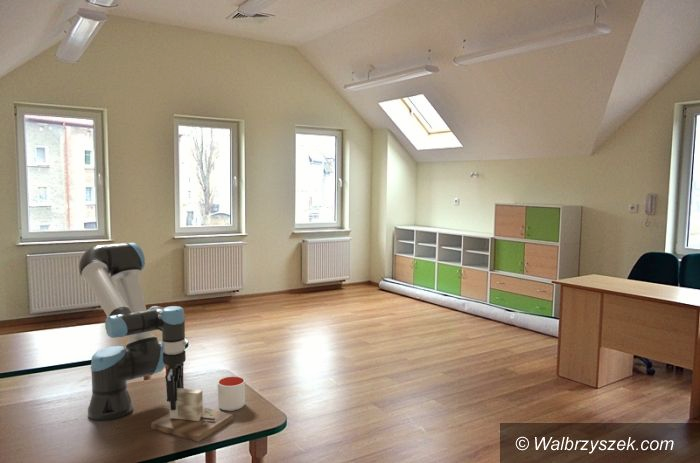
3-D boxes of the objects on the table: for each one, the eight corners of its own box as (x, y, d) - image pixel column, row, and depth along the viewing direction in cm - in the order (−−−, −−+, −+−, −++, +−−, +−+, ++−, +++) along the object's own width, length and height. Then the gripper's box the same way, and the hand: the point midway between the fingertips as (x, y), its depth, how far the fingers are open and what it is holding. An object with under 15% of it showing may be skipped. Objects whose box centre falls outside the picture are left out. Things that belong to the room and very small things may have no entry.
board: (151, 428, 187) (151, 422, 187) (187, 408, 203) (187, 402, 203) (198, 441, 178) (198, 435, 178) (232, 419, 194) (232, 413, 194)
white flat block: (169, 418, 190) (169, 390, 189) (174, 414, 193) (173, 387, 192) (212, 422, 187) (212, 394, 186) (216, 418, 190) (215, 391, 189)
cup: (238, 413, 200) (238, 387, 199) (213, 410, 202) (213, 384, 201) (248, 402, 210) (248, 377, 209) (224, 399, 212) (224, 375, 211)
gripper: (177, 359, 180) (179, 426, 183) (191, 343, 197) (193, 404, 200) (155, 359, 180) (157, 426, 183) (171, 343, 197) (173, 404, 200)
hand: (176, 414), depth 191 cm, fingers open, 4 cm apart
